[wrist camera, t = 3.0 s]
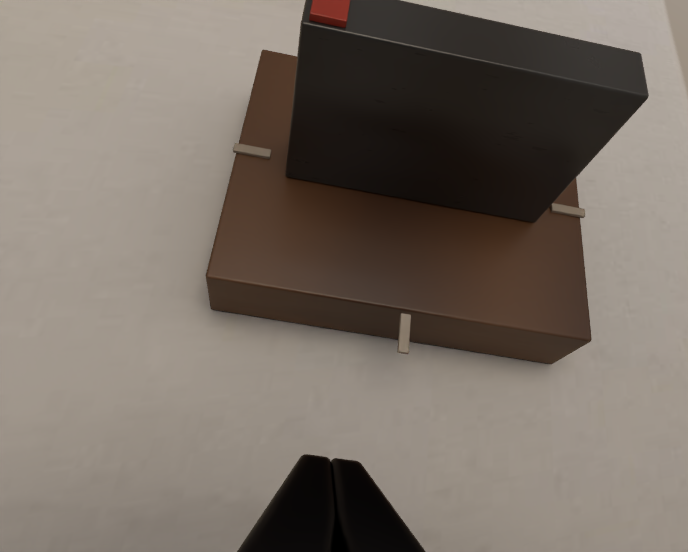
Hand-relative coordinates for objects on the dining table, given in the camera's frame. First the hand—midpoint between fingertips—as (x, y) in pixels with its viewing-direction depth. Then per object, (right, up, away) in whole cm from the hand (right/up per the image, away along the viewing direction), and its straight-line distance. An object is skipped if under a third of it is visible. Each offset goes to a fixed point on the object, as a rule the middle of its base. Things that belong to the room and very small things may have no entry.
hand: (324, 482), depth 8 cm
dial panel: (+3, +5, +17) cm, 17 cm away
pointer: (+3, +7, +14) cm, 16 cm away
